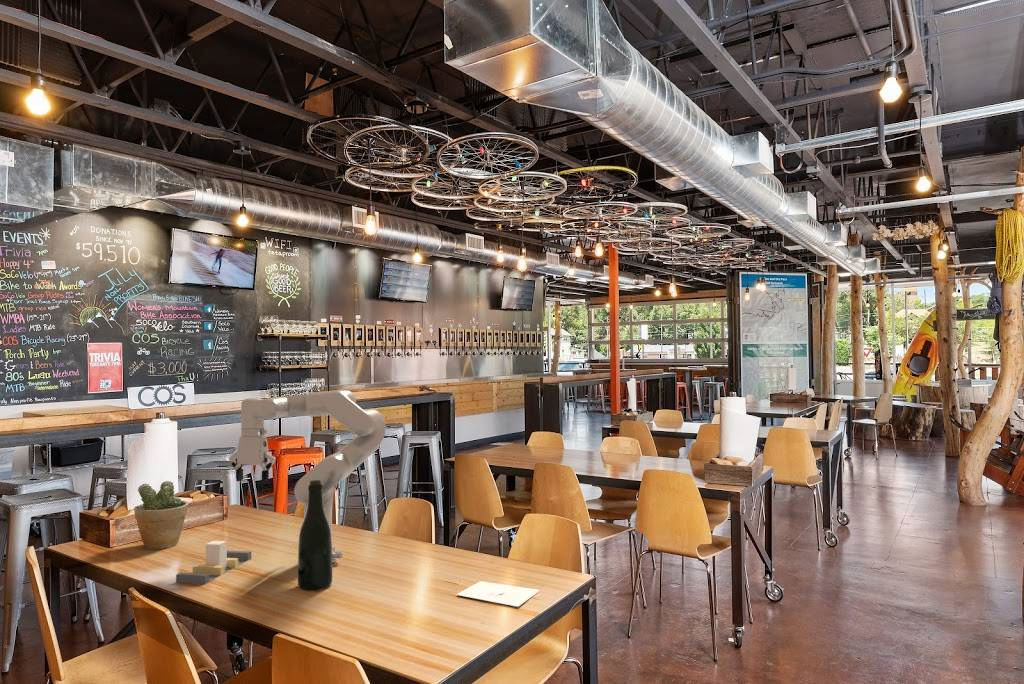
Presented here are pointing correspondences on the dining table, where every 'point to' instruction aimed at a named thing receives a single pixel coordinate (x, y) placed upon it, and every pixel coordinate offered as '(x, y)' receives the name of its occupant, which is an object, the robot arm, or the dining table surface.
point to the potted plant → (160, 516)
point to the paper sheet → (499, 593)
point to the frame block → (216, 553)
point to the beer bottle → (315, 544)
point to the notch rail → (211, 577)
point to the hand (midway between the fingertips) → (252, 480)
